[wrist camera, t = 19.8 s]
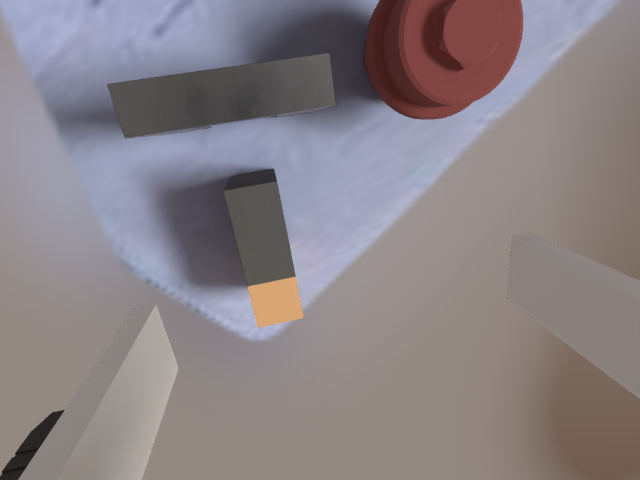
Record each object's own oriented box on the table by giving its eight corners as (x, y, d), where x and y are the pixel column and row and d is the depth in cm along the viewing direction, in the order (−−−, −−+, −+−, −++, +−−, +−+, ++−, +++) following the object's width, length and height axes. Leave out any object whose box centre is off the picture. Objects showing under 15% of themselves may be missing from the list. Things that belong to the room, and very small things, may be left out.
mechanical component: (439, 122, 34) (342, 119, 33) (454, 5, 31) (347, -4, 30) (529, 120, 23) (384, 115, 21) (567, -65, 20) (401, -87, 18)
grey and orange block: (232, 176, 33) (223, 191, 25) (273, 168, 33) (276, 181, 26) (259, 286, 37) (257, 327, 29) (295, 278, 37) (303, 317, 30)
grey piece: (161, 98, 30) (107, 84, 19) (307, 76, 31) (329, 52, 21) (171, 133, 31) (124, 138, 20) (312, 111, 32) (336, 105, 22)
